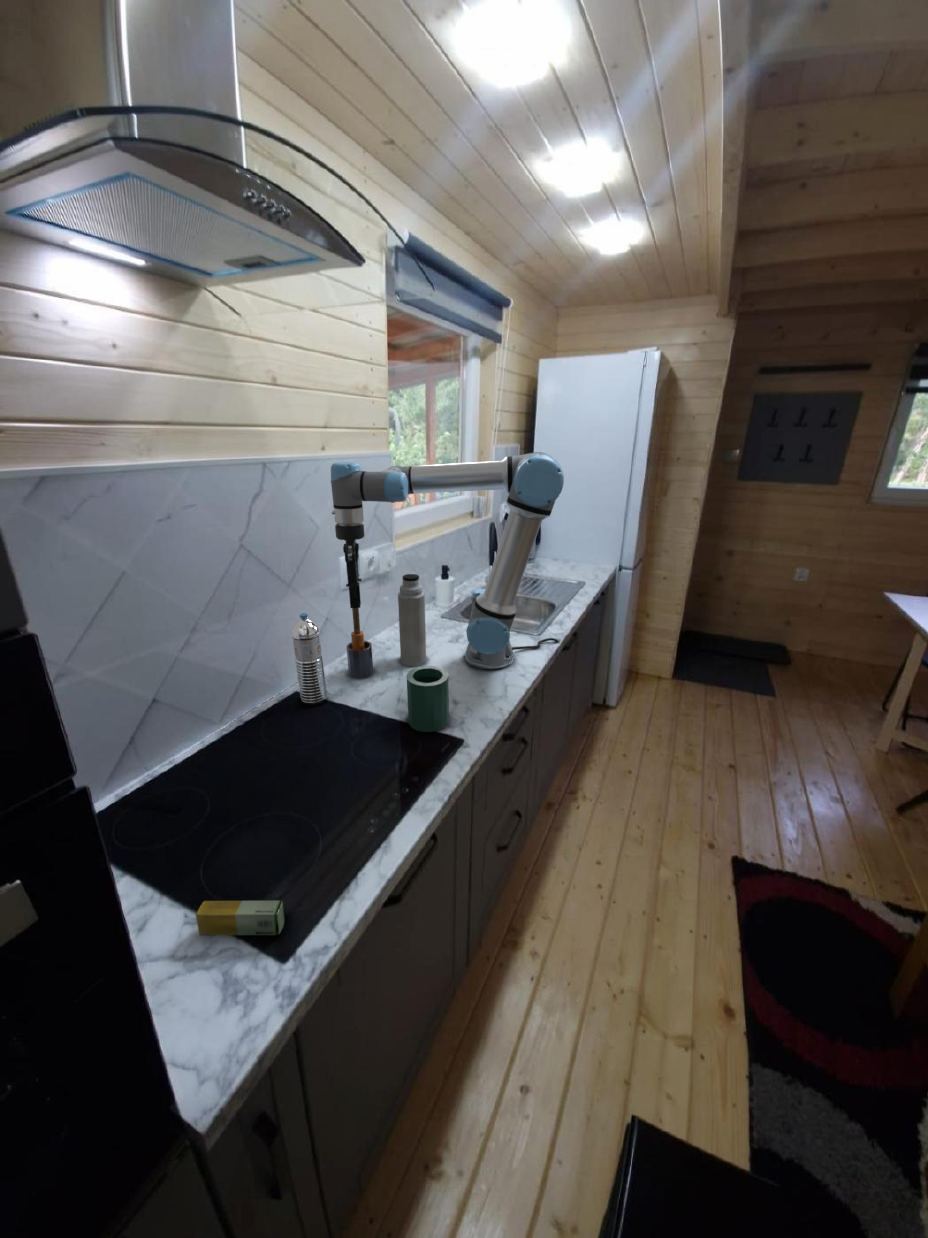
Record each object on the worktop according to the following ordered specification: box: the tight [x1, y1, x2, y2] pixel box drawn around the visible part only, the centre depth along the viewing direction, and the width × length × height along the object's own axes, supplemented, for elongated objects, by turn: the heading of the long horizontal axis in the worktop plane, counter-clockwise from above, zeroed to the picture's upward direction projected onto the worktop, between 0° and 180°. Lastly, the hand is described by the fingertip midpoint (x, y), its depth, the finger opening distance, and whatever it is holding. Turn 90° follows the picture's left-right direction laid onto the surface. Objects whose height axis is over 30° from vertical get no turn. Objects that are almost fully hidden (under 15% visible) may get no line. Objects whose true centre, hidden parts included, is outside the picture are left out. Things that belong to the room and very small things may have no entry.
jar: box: [405, 665, 450, 733], centre depth 123 cm, size 10×10×13 cm
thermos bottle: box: [397, 573, 427, 667], centre depth 151 cm, size 8×8×28 cm
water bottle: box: [291, 612, 328, 707], centre depth 129 cm, size 7×7×25 cm
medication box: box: [195, 900, 285, 937], centre depth 74 cm, size 12×3×4 cm, turn 91°
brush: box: [350, 608, 365, 650], centre depth 142 cm, size 4×4×25 cm
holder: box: [346, 640, 374, 679], centre depth 147 cm, size 7×7×9 cm
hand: (355, 605), depth 141 cm, fingers closed on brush, 2 cm apart
